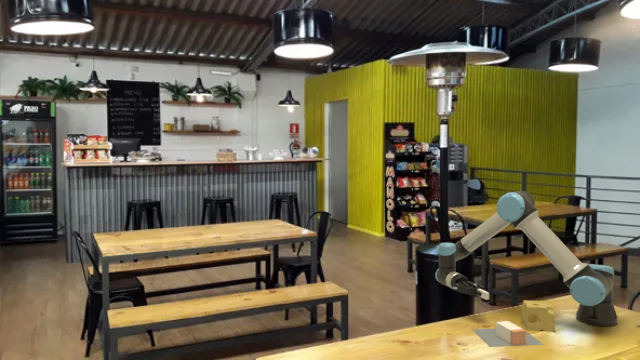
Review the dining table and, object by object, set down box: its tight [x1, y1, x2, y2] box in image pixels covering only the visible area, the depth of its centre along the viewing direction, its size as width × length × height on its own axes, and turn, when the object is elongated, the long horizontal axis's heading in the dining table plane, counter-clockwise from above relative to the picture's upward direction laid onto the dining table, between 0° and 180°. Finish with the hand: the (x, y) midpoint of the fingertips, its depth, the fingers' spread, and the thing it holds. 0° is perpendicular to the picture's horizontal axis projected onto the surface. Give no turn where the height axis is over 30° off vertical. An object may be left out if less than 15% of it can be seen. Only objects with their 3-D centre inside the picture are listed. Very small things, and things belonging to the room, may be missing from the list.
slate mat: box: [471, 327, 545, 348], centre depth 200 cm, size 20×18×1 cm
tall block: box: [495, 320, 527, 347], centre depth 197 cm, size 5×5×11 cm
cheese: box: [521, 299, 556, 334], centre depth 211 cm, size 10×11×10 cm
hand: (487, 296), depth 213 cm, fingers closed
